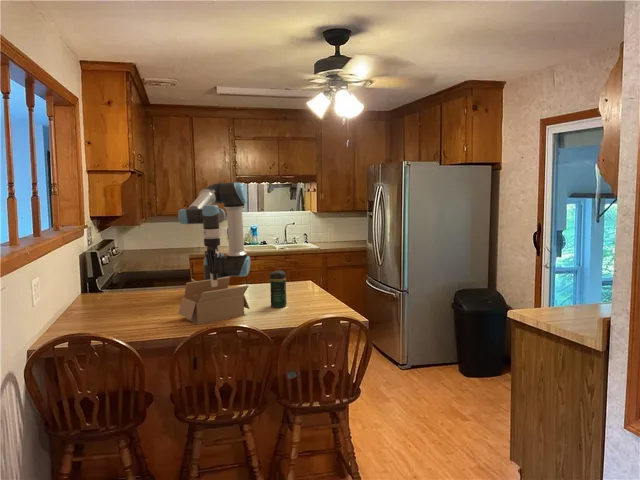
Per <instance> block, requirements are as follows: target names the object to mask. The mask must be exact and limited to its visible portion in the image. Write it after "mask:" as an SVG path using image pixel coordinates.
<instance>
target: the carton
mask: <svg viewBox="0 0 640 480" xmlns="http://www.w3.org/2000/svg"><path fill="white" fill-rule="evenodd" d="M201 296H202V294H197V295H191V296H184V297H182V299H181V301H180V306H179V309H178V313H177V314H178V315H180V316H182V317H184V318H185V320H188V321H190V322H192V323H194V324H196V325H198V326H199V325H203V324H208V323H214V322H218V321H224V320H228V319H235V318H238V317H244V316H245V309H248V310H250V306H249V304H248V300H247V298H246V295H245V294H244V295H242V296H237V297H231V298H225V299H219V300H213V301H207V302H201V303H199V300H200V298H201Z"/></svg>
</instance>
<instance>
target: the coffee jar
mask: <svg viewBox="0 0 640 480" xmlns="http://www.w3.org/2000/svg"><path fill="white" fill-rule="evenodd" d="M286 273H287V272H286V271H284V270H280V269H278V270H274V271H273V272H271V273H270V275H269V281H270V283H269V285H270V306H271V308H277V309H279V308H284V307H286V305H287V304H288V303H287V302H288V301H287V276H286V275H287V274H286Z"/></svg>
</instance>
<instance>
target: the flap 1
mask: <svg viewBox="0 0 640 480" xmlns="http://www.w3.org/2000/svg"><path fill="white" fill-rule="evenodd" d="M230 281H231V277H224V278H217V285H218V286H216V287H211V279H210V280H205V279H203V280H196V281H190V282H186V283H185V289H184V292H183V293H184V294H183V296H184V297H190V296H197V295H202V293H203V292H207V291H214V290H220V289H226V288H229V285H230Z"/></svg>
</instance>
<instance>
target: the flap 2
mask: <svg viewBox="0 0 640 480" xmlns="http://www.w3.org/2000/svg"><path fill="white" fill-rule="evenodd" d="M248 288H249V285H248V284H246V285H239V286H233V287H228V288H226V289H220V290H214V291H207V292H203V293H202V294H201V295H202V296H201V298H200V300H199V303H201V302H207V301H213V300H219V299H225V298H231V297H237V296H242V295H244V296H245V293H246V292H247V290H248Z"/></svg>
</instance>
